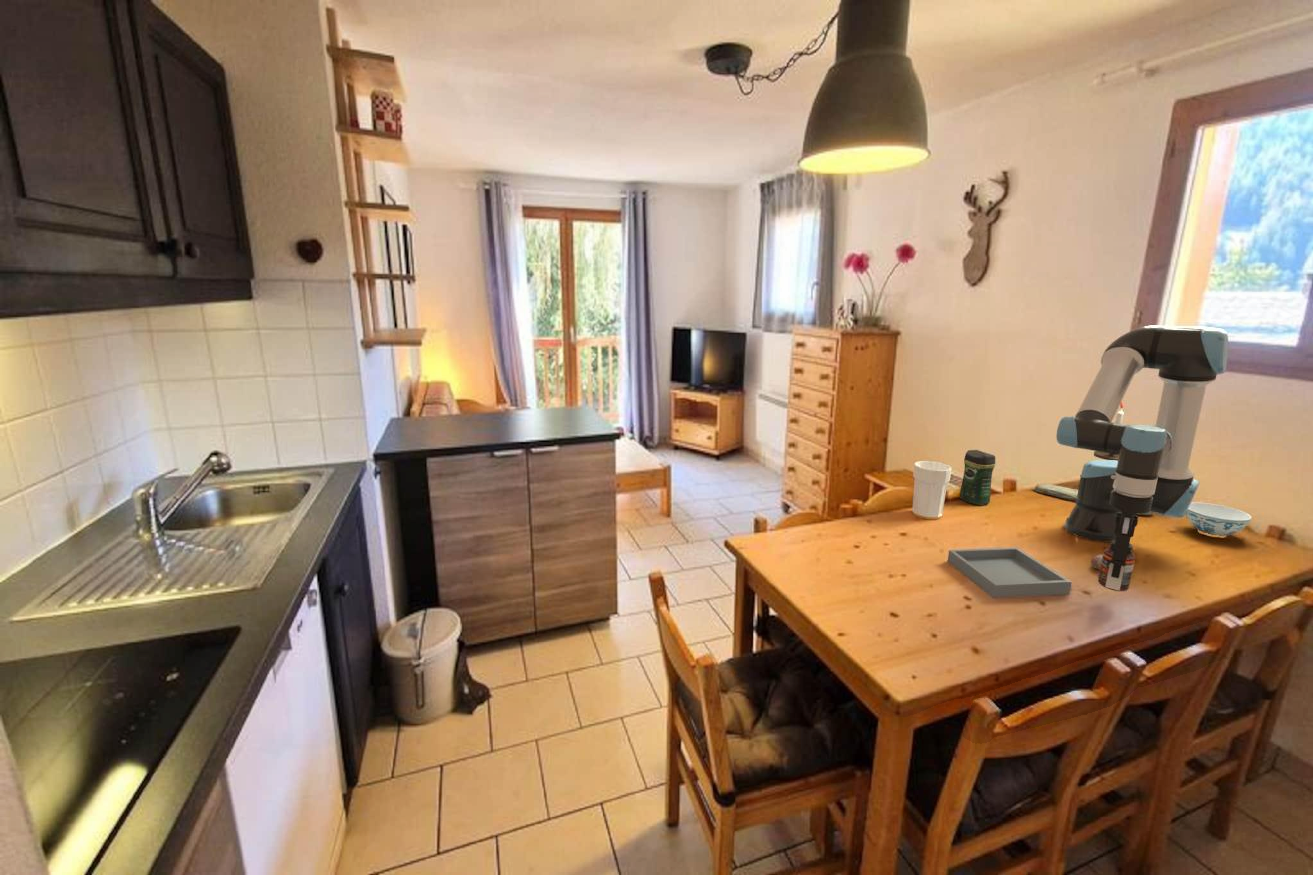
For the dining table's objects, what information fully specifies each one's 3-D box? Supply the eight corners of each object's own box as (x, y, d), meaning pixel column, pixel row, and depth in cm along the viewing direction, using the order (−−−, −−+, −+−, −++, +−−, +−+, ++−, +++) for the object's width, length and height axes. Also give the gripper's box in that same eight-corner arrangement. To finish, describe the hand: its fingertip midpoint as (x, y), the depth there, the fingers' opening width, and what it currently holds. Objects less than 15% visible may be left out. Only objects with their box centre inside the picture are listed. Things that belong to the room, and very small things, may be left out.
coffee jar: (993, 504, 206) (1001, 454, 201) (975, 506, 203) (982, 456, 199) (972, 495, 215) (979, 447, 210) (954, 497, 212) (961, 448, 208)
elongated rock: (1039, 491, 224) (1030, 498, 218) (1040, 478, 223) (1031, 484, 217) (1156, 511, 198) (1150, 520, 192) (1158, 496, 197) (1152, 505, 191)
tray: (1014, 558, 164) (1016, 547, 163) (1069, 594, 145) (1071, 581, 144) (947, 561, 162) (949, 549, 162) (993, 597, 143) (995, 585, 142)
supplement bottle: (1091, 580, 142) (1099, 538, 139) (1113, 579, 143) (1122, 537, 140) (1111, 593, 137) (1120, 549, 134) (1134, 591, 137) (1144, 547, 134)
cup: (951, 521, 191) (958, 470, 187) (917, 521, 191) (923, 470, 187) (935, 508, 202) (942, 460, 198) (903, 508, 202) (908, 460, 198)
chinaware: (1259, 544, 173) (1266, 520, 172) (1208, 544, 174) (1214, 520, 172) (1213, 524, 188) (1219, 502, 186) (1166, 524, 188) (1172, 502, 186)
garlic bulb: (1126, 580, 152) (1132, 552, 150) (1091, 573, 156) (1097, 546, 154) (1121, 568, 158) (1127, 541, 156) (1088, 562, 162) (1094, 536, 160)
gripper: (1114, 478, 143) (1097, 563, 149) (1109, 500, 129) (1090, 593, 135) (1154, 484, 138) (1134, 572, 144) (1153, 508, 124) (1131, 604, 130)
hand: (1113, 582), depth 139 cm, fingers closed on supplement bottle, 6 cm apart
